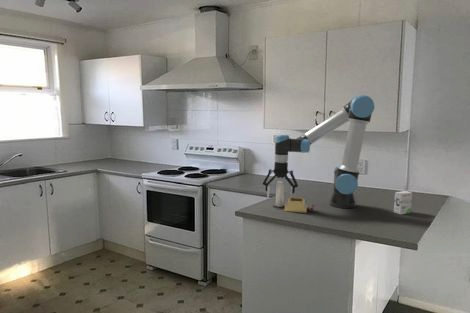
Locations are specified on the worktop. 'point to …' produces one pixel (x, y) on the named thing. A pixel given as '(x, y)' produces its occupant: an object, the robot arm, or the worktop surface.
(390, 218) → the worktop surface
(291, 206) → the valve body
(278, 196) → the pipe stub
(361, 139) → the robot arm
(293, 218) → the worktop surface
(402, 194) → the ink box
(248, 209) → the worktop surface
